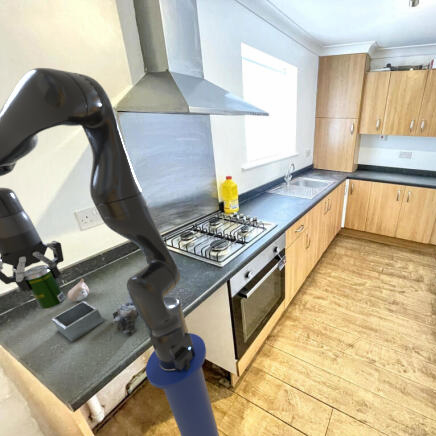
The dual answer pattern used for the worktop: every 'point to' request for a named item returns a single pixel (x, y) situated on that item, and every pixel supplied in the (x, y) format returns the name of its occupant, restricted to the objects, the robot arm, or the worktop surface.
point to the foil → (125, 317)
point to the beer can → (44, 287)
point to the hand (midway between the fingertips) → (42, 283)
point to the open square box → (77, 320)
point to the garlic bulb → (78, 291)
